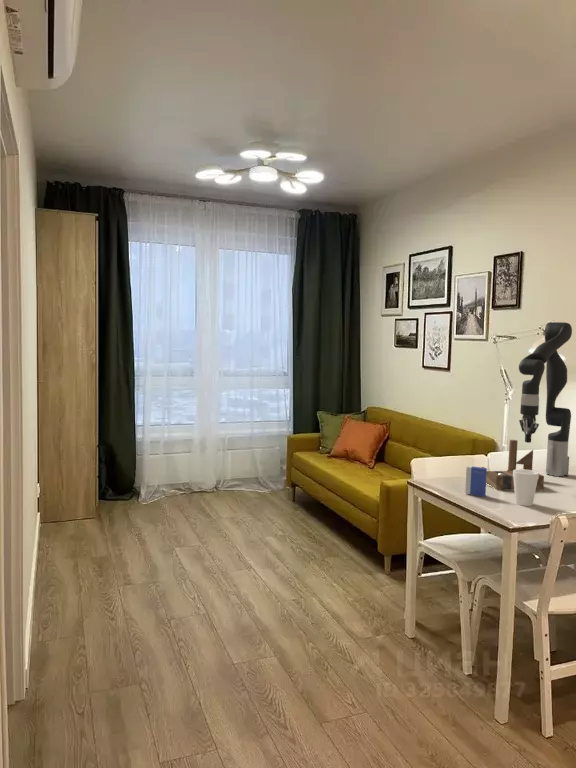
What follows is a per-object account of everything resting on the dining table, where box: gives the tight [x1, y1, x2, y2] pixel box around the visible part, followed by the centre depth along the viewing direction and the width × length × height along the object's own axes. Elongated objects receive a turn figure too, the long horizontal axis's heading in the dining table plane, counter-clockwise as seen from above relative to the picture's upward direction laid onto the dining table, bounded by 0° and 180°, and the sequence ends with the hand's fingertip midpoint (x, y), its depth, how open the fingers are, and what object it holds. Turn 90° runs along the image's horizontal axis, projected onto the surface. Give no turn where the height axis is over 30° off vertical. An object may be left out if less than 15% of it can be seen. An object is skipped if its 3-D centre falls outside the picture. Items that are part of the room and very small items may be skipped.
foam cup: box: [513, 468, 540, 507], centre depth 235 cm, size 10×9×13 cm
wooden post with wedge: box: [506, 439, 534, 471], centre depth 280 cm, size 4×11×18 cm, turn 60°
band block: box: [486, 470, 545, 490], centre depth 263 cm, size 22×10×6 cm, turn 97°
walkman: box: [464, 465, 488, 497], centre depth 247 cm, size 8×3×12 cm, turn 62°
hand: (527, 442), depth 264 cm, fingers closed
